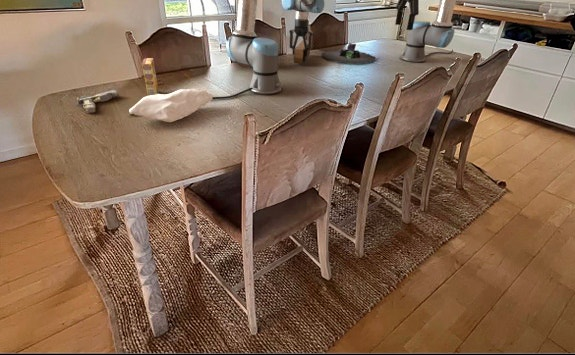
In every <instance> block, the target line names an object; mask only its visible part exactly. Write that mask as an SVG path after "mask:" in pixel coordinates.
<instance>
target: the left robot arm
mask: <svg viewBox="0 0 575 355" xmlns="http://www.w3.org/2000/svg"><path fill="white" fill-rule="evenodd" d="M281 6H282V8H283V9H284V10H286V11H294V18H295V19H294V28H292V29H290V30H289V48H290V49H292V50H291V51H292V53H291V54H292V55H293V56H294V53H295V48H296V47H297V43H298V40H299V38H300V37H301V38H302V41H304V47H305V50H304V56H303V63H305V62H306V60H305V56H307V52H308V50H310V51H311V49H312V37H313V33H314V31H313V30H309V20H308V19H309V14H310V13H313V14H321V13H322V12H323V11H324V8H325V0H281ZM257 7H258V0H238V1H237V12H236V26H235V29H234V30H233V31H232V35H231V36H229V37H228V40H226V43H225V44H226V45H225V49H226V54H227V56H228V57H229V59H230V60H231V61H233V62H236V63H238V64H244V65H247V66H250V67H252V66H253V67H252V69H253V70H252V77H251V81H250V83H249V88H246V89H244V90H242V91H239V92H237V93H235V94H230V95H227V96H226V95H225V96H213V98H212V100H226V99H231V98H235V97H237V96H241V95H242V94H244V93H247V92H249V91H250V92H251V93H253V94H255V95H261V96H271V95H277V94H279V93H281V92H282V81H280V78H279V45H278V43H277V42H276V41H275V40H273V39H272V38H269V37H258V35H257V34H256V32H255V26H256V17H257ZM294 33H295V38H294ZM307 34H308V35H307ZM307 36H308V40H309V42H308V47H307V41H306V40H307ZM129 115H130V116H131V117H133V116H135V115H134V114H130V113H129Z"/></svg>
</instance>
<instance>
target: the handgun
mask: <svg viewBox="0 0 575 355" xmlns="http://www.w3.org/2000/svg"><path fill="white" fill-rule="evenodd" d="M119 96H120V94H119V92H118V91H117V90H116V89H112V90H108V91H105V92H104V91H103V92H101V93H96V94H94V95H86V94H85V95H84V94H83V95H81V96H80V97H77V98H76V101H77V104H78V105H82V108H83V109H84V110H85V113H87V114H91V113H95V112H96V104H95V103H98V102H106V101H109V100H111V99H113V98H117V97H119Z"/></svg>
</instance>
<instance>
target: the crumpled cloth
mask: <svg viewBox="0 0 575 355" xmlns="http://www.w3.org/2000/svg"><path fill="white" fill-rule="evenodd" d="M213 97H214V96H213V94H212V93H210V92H208V91H206V90H203V89H201V88H187V89H186V88H185V89H184V88H183V89H177V90H175V91H173V92H171V93H167V94H163V93H158V94H156V95H150V96H148V95H146V96H144V97H142V98H141V99H140V100H139V101H138V102H137V103H136V104H134V105H133V106H132V107H131V108H129V115H130V114H134V115H133V116H140V117H145V118H146V119H149V120H152V121H155V120H158V121H163V122H166V123H174V122H176V121H178V120H181V119H183V118H185V117H188V116H190V115H192V114H193V113H195V112H196V111H197V110H199V109H200V108H202V107H204V106H206V105H207V104H210V102H211V101H212V100H213V99H212V98H213Z"/></svg>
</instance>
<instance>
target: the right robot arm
mask: <svg viewBox="0 0 575 355" xmlns="http://www.w3.org/2000/svg"><path fill="white" fill-rule="evenodd" d="M419 1H420V0H398V1H397V4H396V6H395V9H396V11H397V14H396V17H395V18H396V19H395V26H401V25H402V20H403V14H404V8H405V7H406V5H407V3H408V6H409V14H408V21H407V25H406V31H408V32H407V33H408V34H407V39H406V43H405V47H404V48H403V51H402V52H401V54H400V59H401V60H402V61H405V62H409V63H424V62H425V60H426V57H429V56H430V55H433V54H444V55H445V54H447V55H450V54H452V53H454V50H453V49H452V50H451V51H450V52H446V51H433V52H430V53H428V54H426V53H425V52H426V51H425V48H426V46H429V47H435V48H441V49H444V48H447V47H448V46H450V43H451V42H452V40H453V38H454V36H455V28H453V23H452V17H453V14H454V9H455V6H456V2H457V0H439V4H438V6H437V7H438V8H437V11H436V16H435V20H434V21H432V23H431V21H428V20H426V21H425V20H423V21H415V19H416V16H419V12H420V10H419V7H420V6H419V3H420V2H419Z"/></svg>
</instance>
